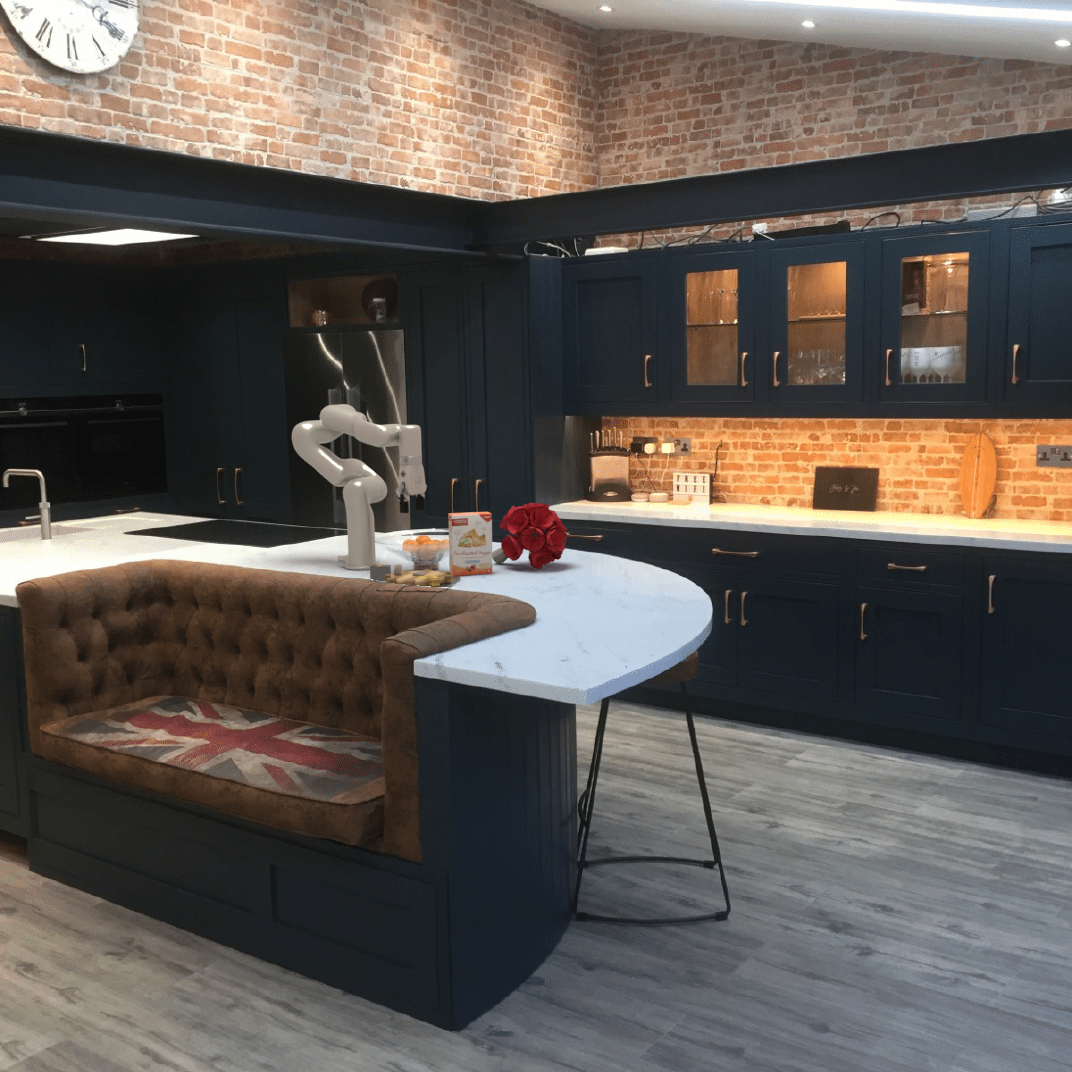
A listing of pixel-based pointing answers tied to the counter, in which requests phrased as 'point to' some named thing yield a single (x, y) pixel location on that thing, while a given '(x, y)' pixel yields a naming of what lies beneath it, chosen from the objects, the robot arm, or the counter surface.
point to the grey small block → (379, 571)
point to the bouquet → (532, 535)
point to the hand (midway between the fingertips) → (412, 511)
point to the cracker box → (470, 543)
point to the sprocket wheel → (418, 577)
